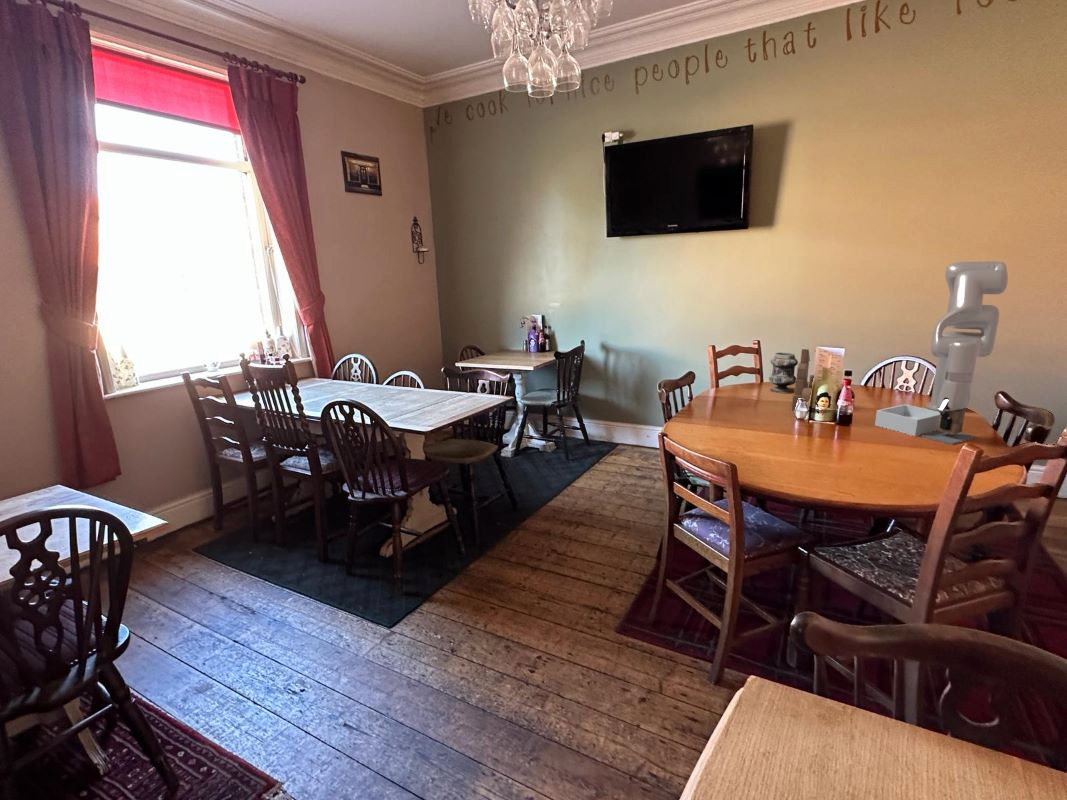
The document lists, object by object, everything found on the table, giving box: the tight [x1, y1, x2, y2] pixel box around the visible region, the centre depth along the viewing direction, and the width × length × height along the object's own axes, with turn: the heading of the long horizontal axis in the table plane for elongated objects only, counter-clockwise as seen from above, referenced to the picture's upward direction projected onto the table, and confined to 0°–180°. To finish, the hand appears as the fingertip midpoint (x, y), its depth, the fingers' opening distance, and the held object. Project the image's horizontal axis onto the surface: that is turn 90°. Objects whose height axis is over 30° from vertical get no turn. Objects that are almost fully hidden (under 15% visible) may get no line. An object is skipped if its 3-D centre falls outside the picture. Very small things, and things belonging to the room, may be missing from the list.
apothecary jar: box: [768, 351, 799, 394], centre depth 257 cm, size 12×12×18 cm
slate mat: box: [920, 431, 977, 445], centre depth 189 cm, size 14×10×1 cm
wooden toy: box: [791, 348, 815, 412], centre depth 228 cm, size 16×7×25 cm, turn 144°
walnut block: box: [937, 408, 966, 434], centre depth 188 cm, size 5×5×8 cm
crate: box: [874, 403, 940, 437], centre depth 201 cm, size 17×15×6 cm
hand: (949, 427), depth 189 cm, fingers closed on walnut block, 5 cm apart
